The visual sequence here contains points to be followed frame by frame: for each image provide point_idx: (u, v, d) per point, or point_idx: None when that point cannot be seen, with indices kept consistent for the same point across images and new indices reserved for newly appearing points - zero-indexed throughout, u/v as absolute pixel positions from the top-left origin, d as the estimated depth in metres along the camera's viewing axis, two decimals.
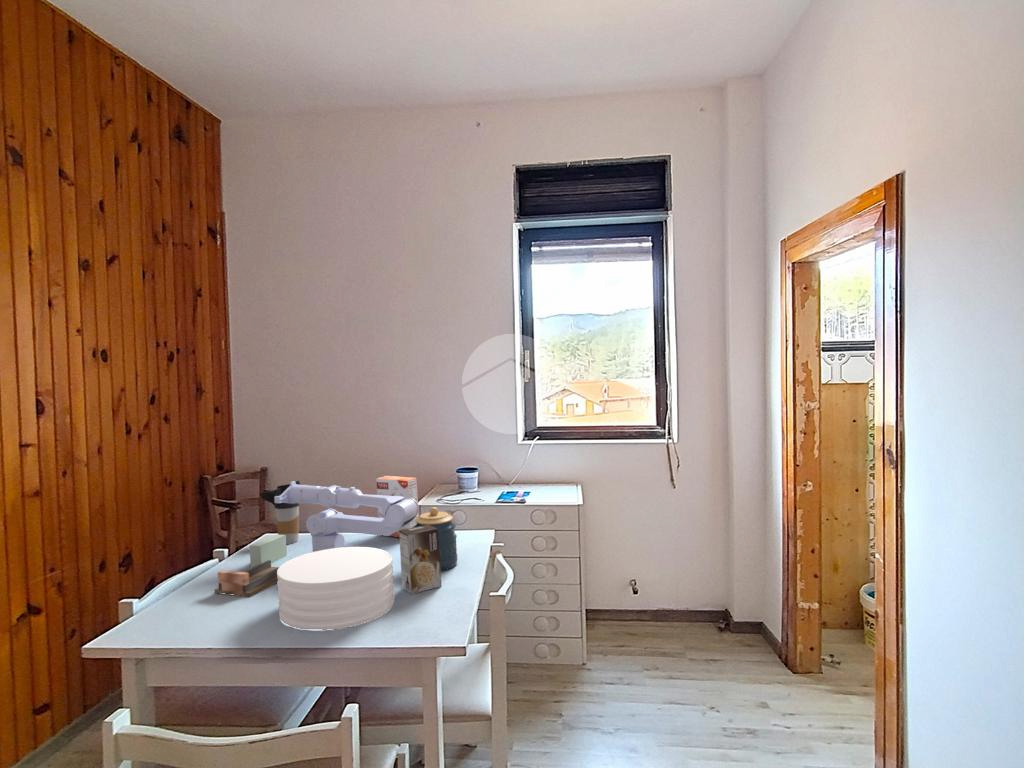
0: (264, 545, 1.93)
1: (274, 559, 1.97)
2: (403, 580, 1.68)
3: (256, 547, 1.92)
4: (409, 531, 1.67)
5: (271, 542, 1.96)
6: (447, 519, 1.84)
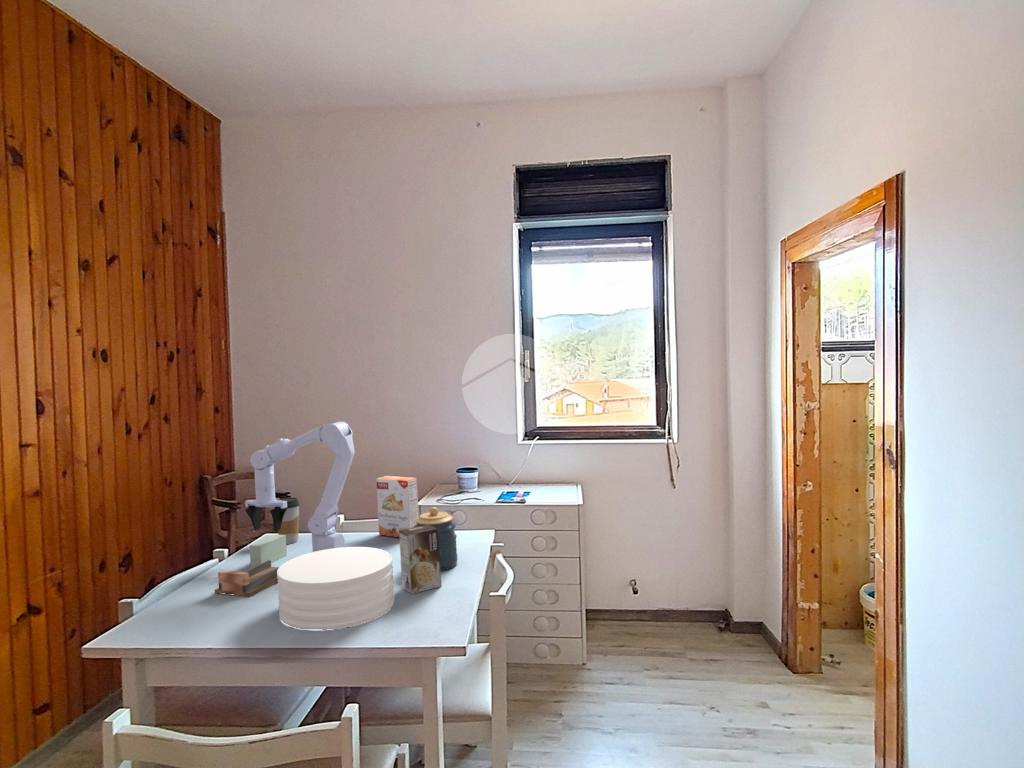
0: (264, 545, 1.93)
1: (274, 559, 1.97)
2: (403, 580, 1.68)
3: (256, 547, 1.92)
4: (409, 531, 1.67)
5: (271, 542, 1.96)
6: (447, 519, 1.84)
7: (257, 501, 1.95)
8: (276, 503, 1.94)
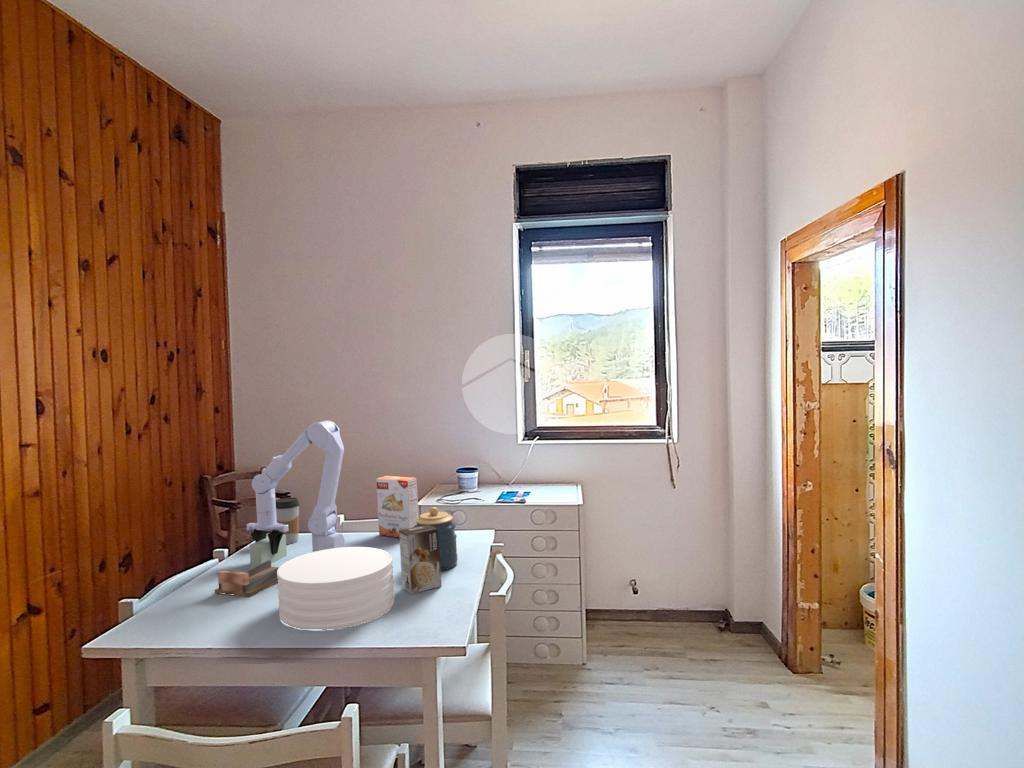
0: (264, 545, 1.93)
1: (274, 559, 1.97)
2: (403, 580, 1.68)
3: (256, 547, 1.92)
4: (409, 531, 1.67)
5: None
6: (447, 519, 1.84)
7: (258, 525, 1.95)
8: (277, 527, 1.95)
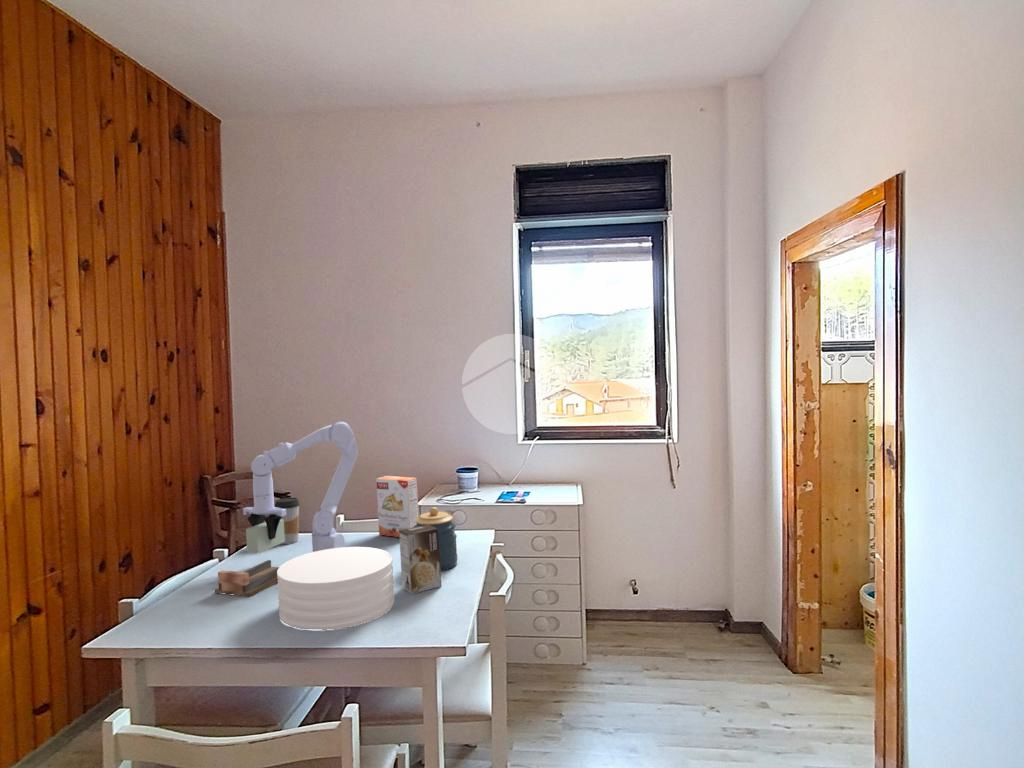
0: (261, 529, 1.86)
1: (271, 544, 1.90)
2: (403, 580, 1.68)
3: (252, 531, 1.85)
4: (409, 531, 1.67)
5: None
6: (447, 519, 1.84)
7: (255, 509, 1.89)
8: (275, 511, 1.88)
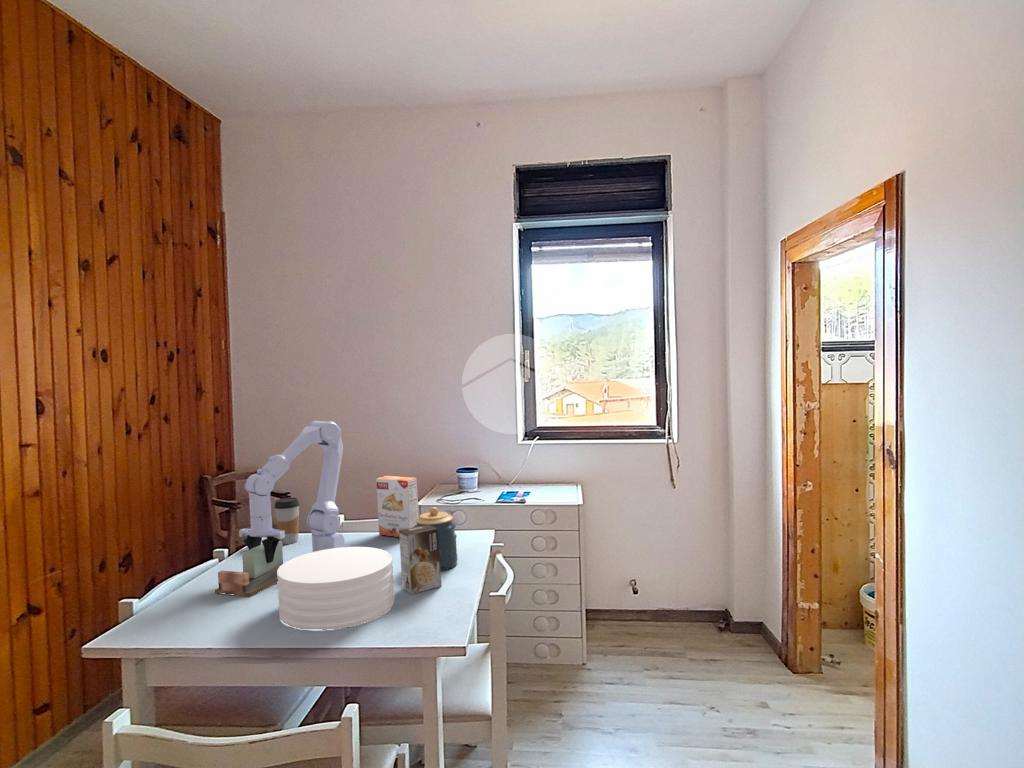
0: (258, 553, 1.76)
1: (269, 568, 1.80)
2: (403, 580, 1.68)
3: (249, 555, 1.75)
4: (409, 531, 1.67)
5: None
6: (447, 519, 1.84)
7: (252, 531, 1.78)
8: (273, 533, 1.78)
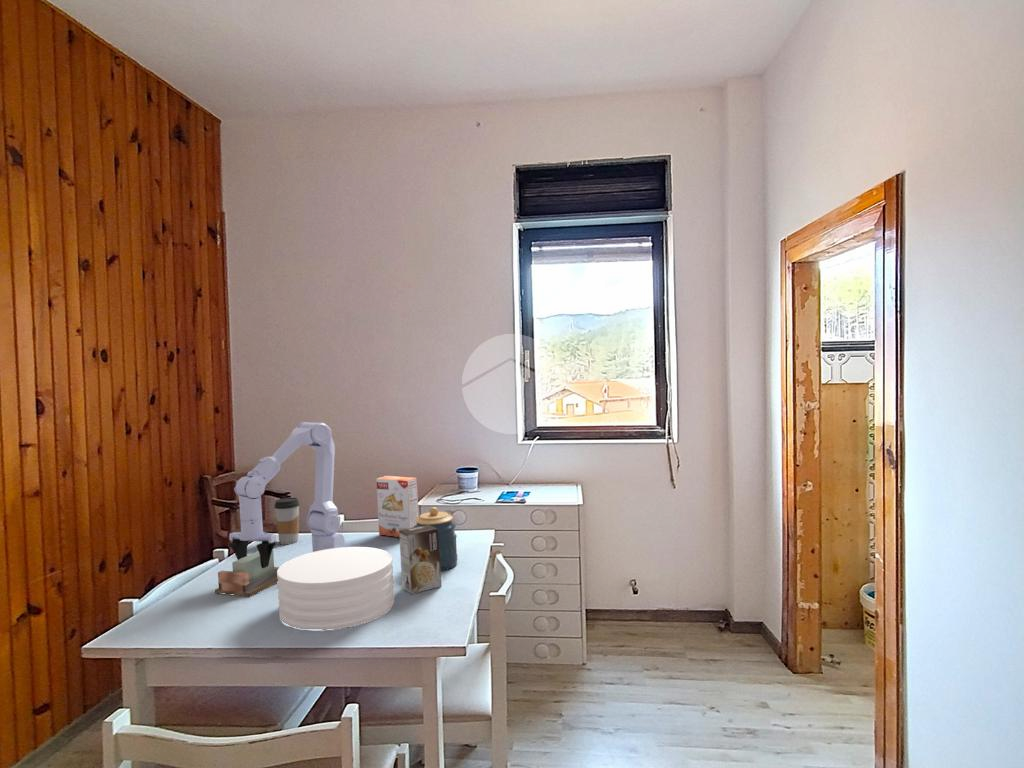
0: (249, 562, 1.73)
1: None
2: (403, 580, 1.68)
3: (239, 564, 1.71)
4: (409, 531, 1.67)
5: (257, 558, 1.76)
6: (447, 519, 1.84)
7: (242, 535, 1.75)
8: (263, 537, 1.74)
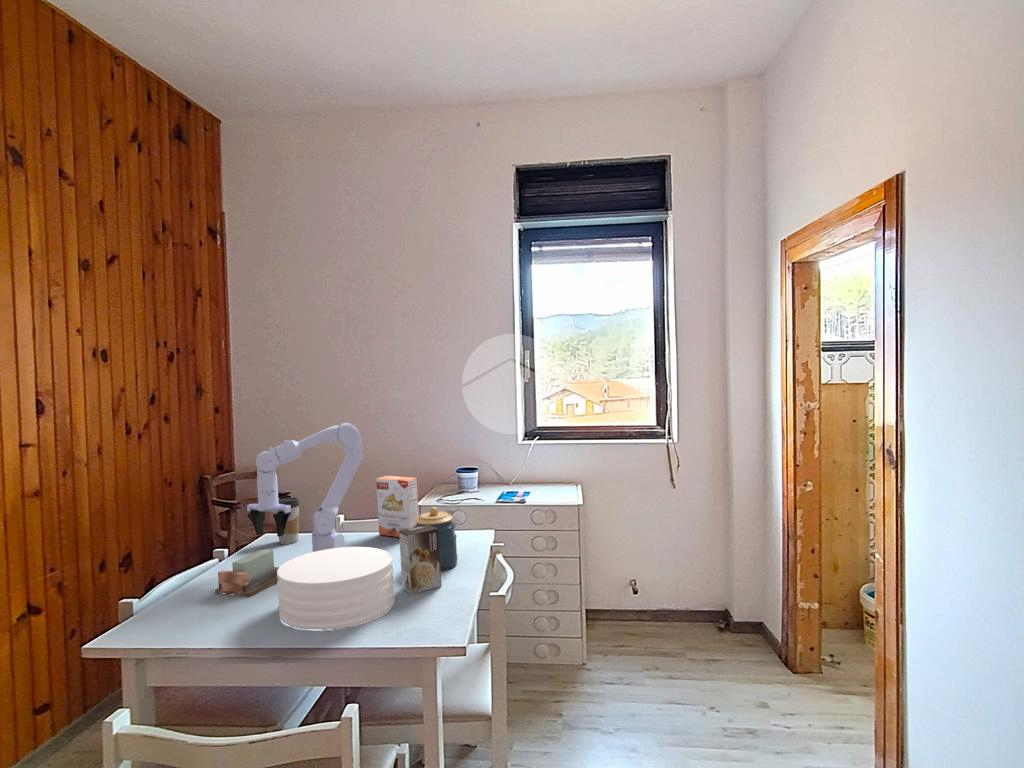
0: (249, 562, 1.73)
1: None
2: (403, 580, 1.68)
3: (239, 564, 1.71)
4: (409, 531, 1.67)
5: (257, 558, 1.76)
6: (447, 519, 1.84)
7: (259, 505, 1.87)
8: (279, 507, 1.87)
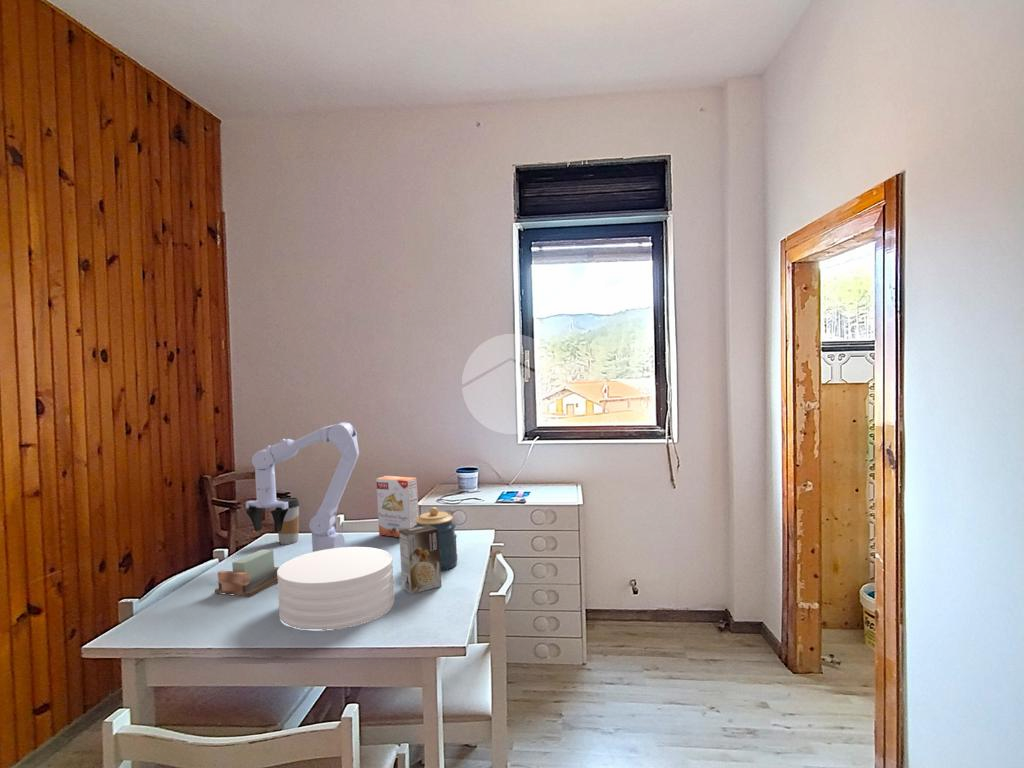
0: (249, 562, 1.73)
1: None
2: (403, 580, 1.68)
3: (239, 564, 1.71)
4: (409, 531, 1.67)
5: (257, 558, 1.76)
6: (447, 519, 1.84)
7: (258, 502, 1.92)
8: (277, 504, 1.92)
